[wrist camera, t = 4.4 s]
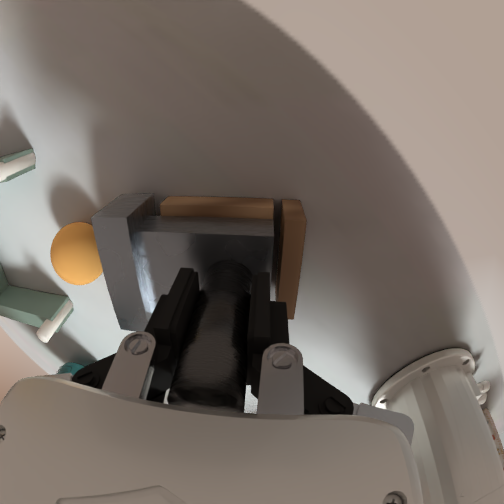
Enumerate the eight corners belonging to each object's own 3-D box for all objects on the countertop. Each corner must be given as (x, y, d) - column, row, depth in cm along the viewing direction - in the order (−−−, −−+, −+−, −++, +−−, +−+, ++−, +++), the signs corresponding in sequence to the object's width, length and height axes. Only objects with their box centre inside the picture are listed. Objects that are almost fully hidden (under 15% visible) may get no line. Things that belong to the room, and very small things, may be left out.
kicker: (273, 195, 15) (282, 335, 6) (267, 303, 18) (263, 450, 9) (122, 194, 15) (3, 296, 6) (140, 294, 18) (78, 415, 10)
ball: (112, 212, 17) (79, 240, 13) (122, 266, 18) (96, 301, 15) (66, 213, 17) (32, 238, 13) (78, 262, 19) (50, 293, 15)
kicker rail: (299, 200, 16) (306, 220, 13) (290, 288, 19) (293, 319, 16) (168, 196, 16) (149, 215, 13) (177, 282, 19) (164, 311, 16)
